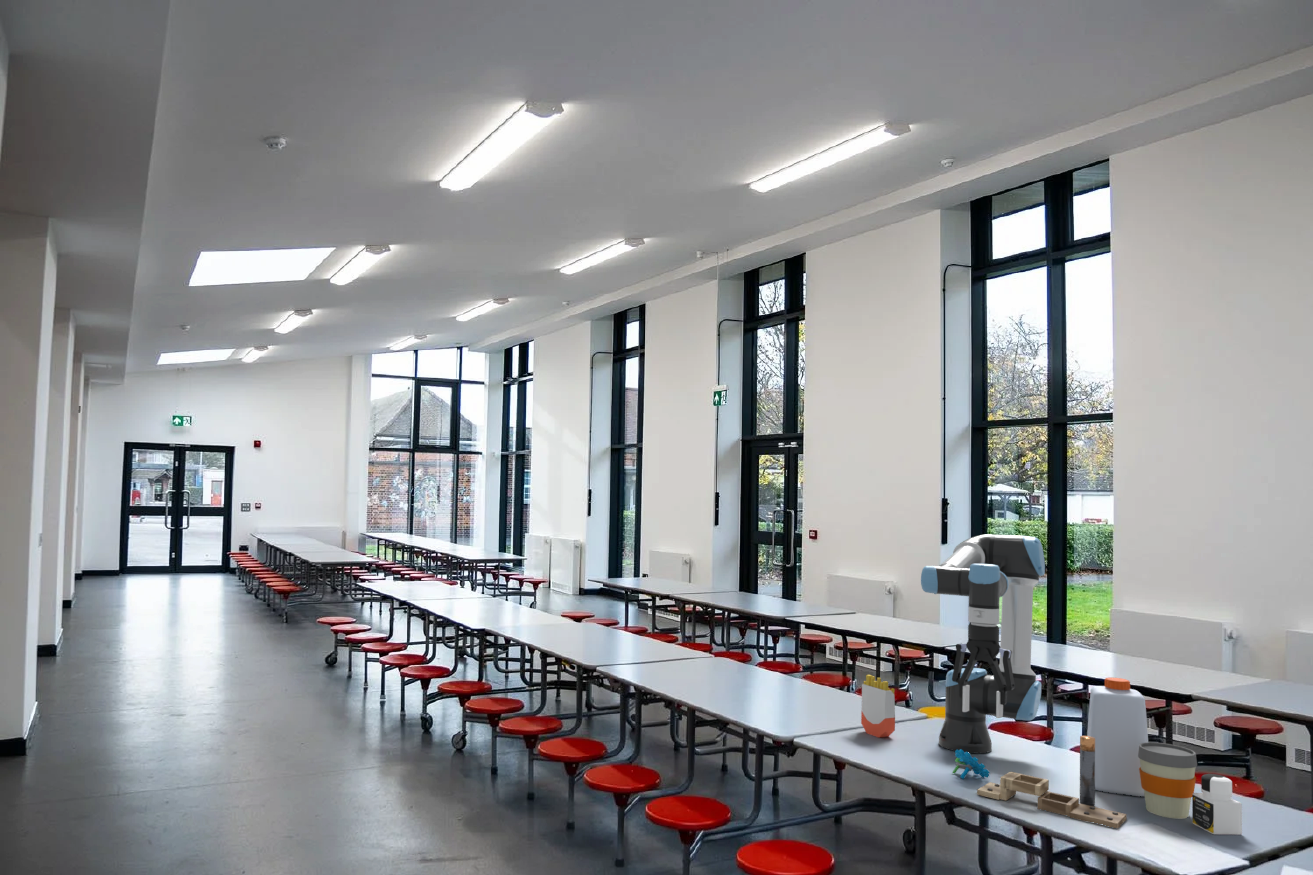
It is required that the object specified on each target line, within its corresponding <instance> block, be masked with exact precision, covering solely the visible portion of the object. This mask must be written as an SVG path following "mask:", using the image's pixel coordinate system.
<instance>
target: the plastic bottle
mask: <svg viewBox="0 0 1313 875" xmlns="http://www.w3.org/2000/svg"><path fill="white" fill-rule="evenodd" d="M1089 697H1090V698H1089V706H1088V720H1087V721H1088V722H1087V731H1086V733H1087V734H1086V736H1090V737H1094V738H1095V791H1098V792H1102V791H1103V792H1102V793H1108V792H1109V794H1116V793H1117V795H1123V794H1126V796H1130V795H1132V796H1131V797H1140V796H1141V797H1145V795H1144V789H1143V788H1142V786H1141V779H1140V771H1139V768H1140V767H1141V765H1140V758H1139V757H1138V751H1139V745H1140V744H1141V743H1149V734H1148V732H1149V731H1148V720H1147V709H1146V708H1147V707H1146V706H1147V705H1146V698H1145V697H1144V696H1143V694H1142V693H1141V692H1139V691H1138V690H1136V689H1134V688H1133V689H1132V688H1131V681H1130V680H1128V679H1126V678H1121V677H1105V678H1104V685H1094V686H1092V687H1091V689H1090V694H1089Z"/></svg>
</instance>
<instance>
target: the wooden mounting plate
mask: <svg viewBox="0 0 1313 875" xmlns="http://www.w3.org/2000/svg"><path fill="white" fill-rule="evenodd" d="M1040 809H1041V810H1040ZM1037 810H1040V811H1044V810H1046V811H1045V812H1050V813H1054V814H1057V815H1061V816H1065V815H1067V816H1066V817H1070V819H1073V818H1074V820H1078V821H1082V822H1086V823H1090V822H1094V823H1098V824H1097V825H1099V824H1103V825H1106V826H1105V827H1107V826H1109V827H1108V828H1111V827H1113V829H1115V828H1117V829H1119V828H1120V827H1121V826H1122V825H1123V824H1124V823H1125V821H1127V819H1128V817H1127V816H1128V814H1127V813H1124V812H1123V813H1122V812H1118V811H1114V810H1110V809H1106V808H1102V807H1097V806H1089V805H1084V804H1081V803H1080V797H1076V796H1070V795H1066V794H1062V793H1058V792H1053V791H1049V790H1048V791H1046V792H1045V793H1043V794H1042V795H1041V796H1037ZM1094 823H1093V824H1094ZM1103 825H1102V826H1103ZM1117 829H1116V830H1117Z"/></svg>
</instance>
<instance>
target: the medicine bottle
mask: <svg viewBox="0 0 1313 875" xmlns="http://www.w3.org/2000/svg"><path fill="white" fill-rule="evenodd" d="M1200 780H1201V781H1200V784H1201V786H1200V789H1201V790H1200V791H1201V792H1194V793H1193V794H1192V797H1191V801H1192V804H1191V805H1192V806H1191V807H1192V809H1191V810H1192V812H1191V813H1192V815H1191V816H1192V820H1191V821H1192V824H1193V826H1196V827H1198V828H1200V829H1202V830H1203V831H1206V832H1208V833H1210V834H1212V835H1215V836H1216V835H1220V836H1221V835H1228V836H1229V835H1230V836H1232V835H1233V836H1235V835H1236V836H1241V835H1242V834H1243V812H1242V811H1243V809H1242V808H1243V806H1242V805H1243V804H1242V803H1241V801H1237V800H1235V799H1234V798H1232V797H1233V781H1232V780H1231V779H1230V778H1228V777H1227V776H1224V775H1221V774H1215V773H1206V774H1203V775H1202V776H1201V778H1200Z"/></svg>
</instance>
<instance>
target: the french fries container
mask: <svg viewBox="0 0 1313 875" xmlns="http://www.w3.org/2000/svg"><path fill="white" fill-rule="evenodd" d="M895 706H896V705H895V688H892V687H891V688H889V681H887V680H886V681H885V680H883V681H882V677H876V676H873V675H871V674H866V676H865V680H863V683H861V713H860V714H861V716H860V717H861V718H860V719H861V720H860V721H861V722H860V724H861V725H862V728H863V729H864V731H865V733H866V734H868V735H871V736H874V737H876V738H879V739H880V738H886V737H890V736H891V735H892V734H893V733H894V732H895V731H896V707H895Z"/></svg>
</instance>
